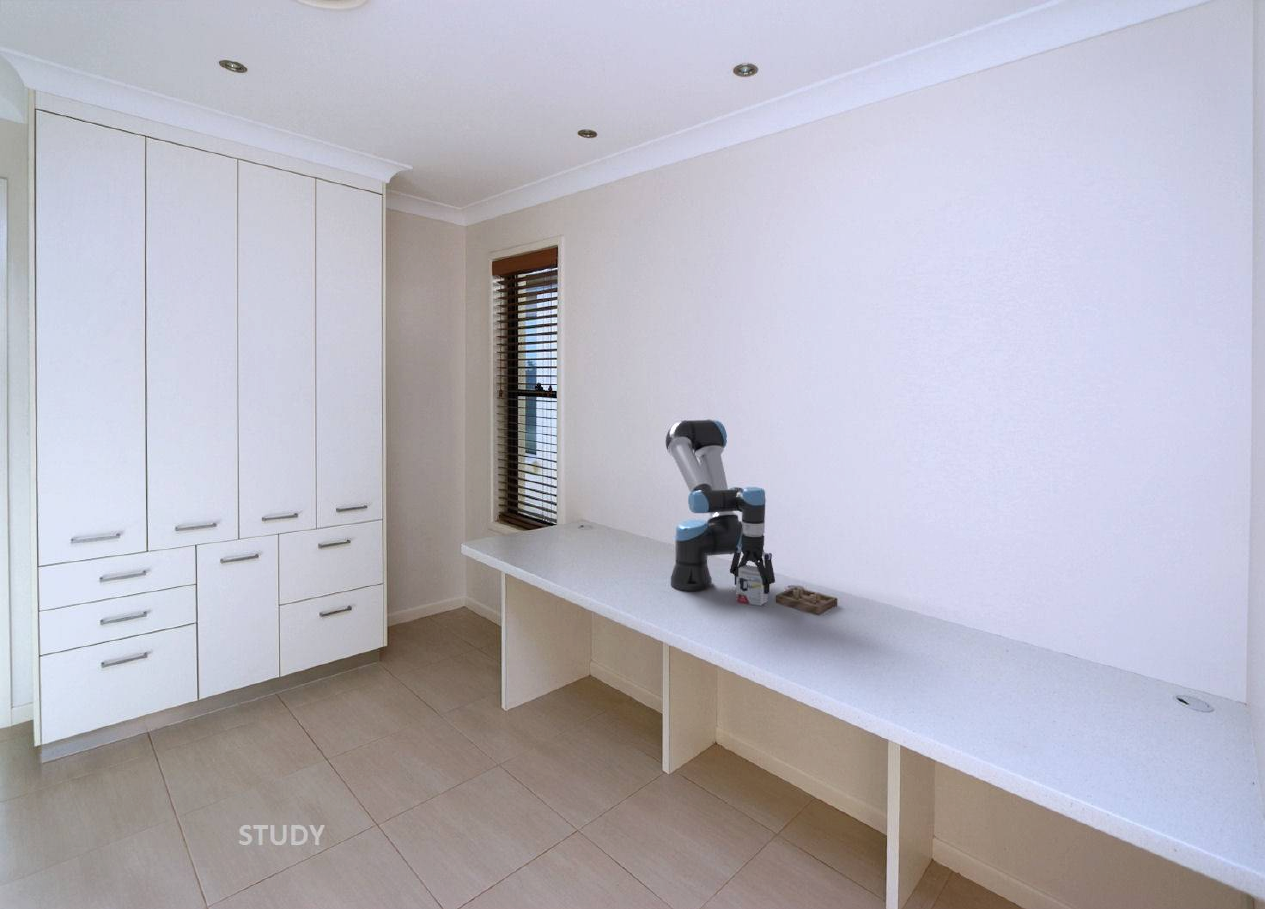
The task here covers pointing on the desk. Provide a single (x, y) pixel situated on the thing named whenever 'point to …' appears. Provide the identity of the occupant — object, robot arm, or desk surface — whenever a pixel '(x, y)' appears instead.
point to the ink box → (749, 585)
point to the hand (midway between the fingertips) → (751, 598)
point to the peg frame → (806, 600)
